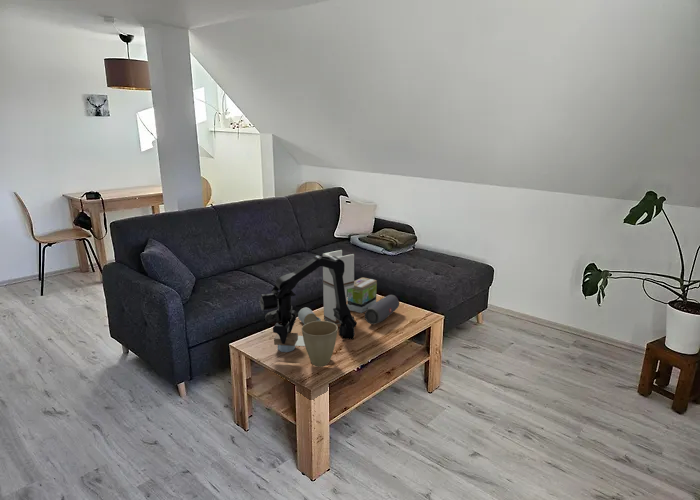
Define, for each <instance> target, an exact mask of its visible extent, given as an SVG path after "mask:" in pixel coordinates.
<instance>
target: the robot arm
mask: <svg viewBox="0 0 700 500" xmlns="http://www.w3.org/2000/svg"><path fill="white" fill-rule="evenodd" d="M320 267H322V268H323V267H326V268H328V269H329V271H330V273H331V275H332V277H333V283H334V290H335V296H336V303H337V306H336V308H333V311H334V316H335V317H336V319H337V320H339V322H340V323H341V324H339V327H338V328H339V329H338V335H339V336H340V337H341V339H342V340H352V341H353V340H354V338H355V335H356V333H355V328H356V327H357V324H358V322H357V321H356V320H355V319H354V320H353V319H352V316H353V315H352V312H351V310H349V308H348V306H347V302H346V296H345V289H344V282H343V274H344V268H345V264H344V262H343V261H342V260H341V259H339V258H337V257H336V256H332V257H326V256H323V255H321V256H320V255H315V256H314V257H313V258H311V259H310V260H308V261H307V262H305V263H304V264H303V265H301V266H300V267H298V268H297V269H296V270H294V271H293V272H290V273H287V274H283V275H282V276H279V277H278V278H277V279H276V281H275V284H274V286H273V288H272V289H271V291H270V292H271V293H262V294H260V297H259V306H260V310H261V311H262V312H263V311H267V310H270V311H269V312H267V313H266V314H265V317H264V320H265V321H266V322H267V323H271V322H274V321H276V323H275V324H274V326H273V327H272V332H273V333H275V334H276V335H277V334H278V335H279V337H280V339H281V342H282V344H285V342H286V339H287V336H288V333H292V331H293V327H294V325H295V323H296V320H297V318H298V311H296V310H294V309H293V308H294V307H293V305H292V297H295V296H296V295H297V294H296V292H294V291H293V289H294V288H295V287H297V285H298V283H299V282H301V280H303V279H304V278H306V277H307V276H309V275H310V274H312V273H313V272H314V271H315V270H317V269H319V268H320ZM271 310H272V311H271Z"/></svg>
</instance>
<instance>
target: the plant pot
mask: <svg viewBox="0 0 700 500" xmlns="http://www.w3.org/2000/svg"><path fill="white" fill-rule="evenodd" d="M338 328H339V327H338V324H334V323H332V322H328V321H326V320H321V321H313V322H309V323H307V324H303V325H302V327H301V333H302V336H303V339H304V344H305V346H304V348H305V351H306V353H307V355H308V358H309V361H310V362H311V365H312V366H314V367H318V368H321V367H326V366H328V364H329V363H330V362H331V359H332V356H333V353H334V349H335V345H336V343H337V336H338V331H339V329H338Z"/></svg>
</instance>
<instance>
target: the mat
mask: <svg viewBox="0 0 700 500" xmlns="http://www.w3.org/2000/svg"><path fill="white" fill-rule="evenodd" d="M297 346H298V347H305V344H304V339H303V335H298V340H297V342H296V344H295V347H297Z"/></svg>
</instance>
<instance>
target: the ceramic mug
mask: <svg viewBox="0 0 700 500" xmlns="http://www.w3.org/2000/svg"><path fill="white" fill-rule="evenodd" d="M297 318H298V320H299V321H300V322H301V323H302V324H303V325H305V324H307V323H309V322H313V321H322V320H321V318H320V317H318V316H317V315H316V314H315V313H314V311H313V310H312V309H311V308H309V307H306V306H305V307H303V308H301V309H300V310H299V311H298V312H297Z"/></svg>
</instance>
